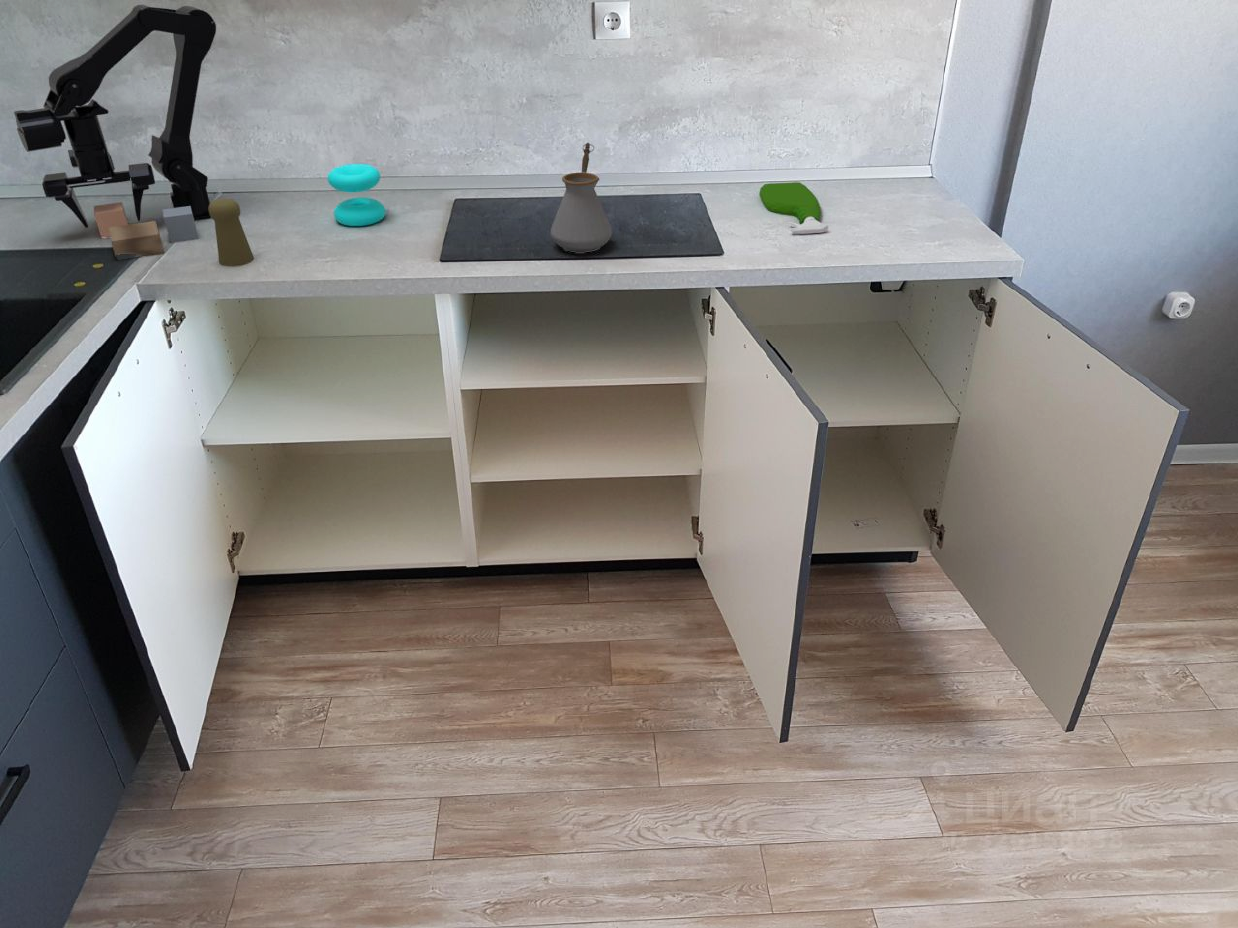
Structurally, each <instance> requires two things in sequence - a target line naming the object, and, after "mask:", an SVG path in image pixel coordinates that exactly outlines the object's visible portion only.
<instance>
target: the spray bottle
mask: <svg viewBox="0 0 1238 928" xmlns="http://www.w3.org/2000/svg"><path fill="white" fill-rule="evenodd" d="M758 196H759V198H760V200H761V203H762V204H763V205H764V206H765V208H766V209H767V210H768V211H769V212H772V213H775V214H779V215H785V216H791V217H796V218H797V220H798V222H799V223H796V222H791V221H788V223H787V224H788V225H789V226H791V227H793V228H791V229H790V234H792V235H795V234H796V235H806V234H818V233H819V234H821V233H826V232H828V230H829V224H825V223H822V222H820V218H821V213H822V212H821V205H820V202H819V200H818V198H817V197H816V195H815V194H814V193H813V192H812V191H811V190H810V189H809V188H808V187H807V186H806V185H805V184H803V183H801V182H799V181H796V182H792V181H791V182H777V183H776V182H775V183H771V182H770V183H764V184H763V185H762V186H761V187H760V190H759V195H758Z"/></svg>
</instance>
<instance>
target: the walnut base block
mask: <svg viewBox="0 0 1238 928" xmlns="http://www.w3.org/2000/svg"><path fill="white" fill-rule="evenodd" d="M109 229H110V237H111V238H110V244H111V246H112V249H113V252H114V255H115V256H116V255H120V254H138V255H141V256H146V257H151V256H157V255H158V256H159V255H164V254H165V250H164V246H163V242H162V238H161V235H160V232H159V229H158V224H157V221H156V220H153V221H145V222H144V221H143V222H137V223H131V224H129V225H123V226H116V227H109Z"/></svg>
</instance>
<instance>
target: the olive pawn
mask: <svg viewBox="0 0 1238 928" xmlns="http://www.w3.org/2000/svg"><path fill="white" fill-rule="evenodd" d="M208 210H209V214H210V216H211V217H210V218H211V219H212V220H213V221H214V227H215V236H216V237H215V238H216V244H217V245H216V246H217V256H218V262H219V264H220V265H221V266H224V267H239V266H244V265H247V264H249V263H251V262H252V261H254V259H255V258H254V255H253V252H252V249H251V247H250V244H249V241H248V239H247V237H246V233H245V230H244V227H243V225H242V223H241V220H240V215H241V208H240V205H239V204H238V202H237V200H235V199H231V198H218V199H214V200H213V201H210V204H209V207H208Z"/></svg>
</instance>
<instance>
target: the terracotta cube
mask: <svg viewBox="0 0 1238 928" xmlns="http://www.w3.org/2000/svg"><path fill="white" fill-rule="evenodd" d="M93 216H94V220H95V222H96V225H97V228H98V231H99V234H100V238H101V239H102V237H110V229H109V227H116V226H123V225H130V224H129V220H128V217H127V214H126V210H125V207H124V203H123V202H114V203H107V204H106V203H104V204H100V205H93Z"/></svg>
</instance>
